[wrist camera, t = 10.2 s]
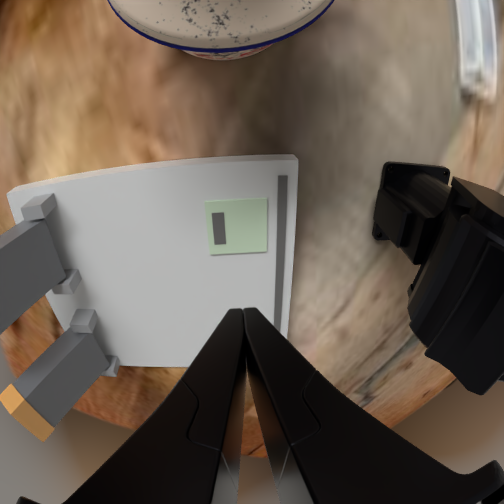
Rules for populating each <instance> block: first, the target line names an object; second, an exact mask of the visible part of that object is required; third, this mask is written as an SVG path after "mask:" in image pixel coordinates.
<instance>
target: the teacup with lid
mask: <svg viewBox="0 0 504 504" xmlns="http://www.w3.org/2000/svg"><path fill="white" fill-rule="evenodd" d="M108 2H109V4H110V6H111V8H112V9H113V11H114V12H115V13H116V15H117V16H118V17H119V18H120V19H121V20H122V21H123V22H124V23H125V24H126V25H127V26H128V27H130V28H131V29H132V30H134V31H135V32H137V33H138V34H140V35H142V36H144V37H145V38H147V39H149V40H152V41H154V42H157V43H159V44H162V45H165V46H168V47H171V48H176V49H180V50H182V51H184V52H186V53H189V54H191V55H194V56H196V57H200V58H204V59H210V60H233V59H240V58H244V57H248V56H251V55H254V54H256V53H259V52H261V51H263V50H265V49H266V48H268V47H269V46H271V45H272V44H274V43H276V42H279V41H281V40H284V39H286V38H288V37H290V36H293V35H294V34H296V33H298V32H300V31H302V30H303V29H305V28H306V27H308V26H309V25H311V24H312V23H313V22H315V21H316V20H317V19H318V18H320V17H321V16H322V15H323V14H324V13H325V12H326V11H327V9H328V8H329V7H330V6H331V4H332V3H333V2H334V0H108Z"/></svg>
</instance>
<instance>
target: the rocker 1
mask: <svg viewBox="0 0 504 504" xmlns="http://www.w3.org/2000/svg"><path fill="white" fill-rule="evenodd" d="M65 277H66V275H65V272H64V270H63V267H62V265H61V262H60V259H59V257H58V254H57V251H56V249H55V246H54V243H53V240H52V237H51V235H50V232H49V229H48V225H47V222H46V219H45V218H41V219H35V220H28V221H24V220H23V221H21V222H20V223H18V224H17V225H15V226H14V227H12V228H11V229H9V230H8V231H6V232H5V233H3V234H2V235H0V334H1V333H2V332H4V331H5V330H6V329H7V328H8V327H9V326H10V325H11V324H12V323H13V322H14V321H15V320H16V319H18V318H19V317H20V316H21V315H22V314H23V313H24V312H25V311H26V310H28V309H29V308H30V307H31V306H32V305H33V304H34V303H36V302H37V301H38V300H39V299H40V298H41V297H43V296H44V295H45V294H46V293H47V292H48V291H50V290H51V289H52V288H53V287H54V286H56V285H57V284H58V283H59V282H60V281H62V280H63V279H64V278H65Z"/></svg>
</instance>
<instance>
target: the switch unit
mask: <svg viewBox="0 0 504 504" xmlns="http://www.w3.org/2000/svg"><path fill="white" fill-rule="evenodd" d="M298 161H299V160H298V159H297V158H296V156H295V155H294V154H271V155H240V156H221V157H206V158H193V159H181V160H171V161H161V162H152V163H143V164H135V165H128V166H121V167H114V168H107V169H101V170H95V171H89V172H83V173H77V174H72V175H67V176H61V177H56V178H52V179H47V180H42V181H38V182H33V183H29V184H25V185H20V186H16V187H15V188H14V189H12V190H11V191H10V192H8V193H7V198H8V201H9V204H10V208H11V211H12V214H13V217H14V220H15V223H16V225H17V224H18V223H20V222H21V221H23V220H24V221H28V220H35V219H41V218H45V219H46V222H47V225H48V229H49V232H50V235H51V237H52V240H53V243H54V246H55V249H56V251H57V254H58V257H59V259H60V262H61V265H62V267H63V270H64V272H65V275H66V277H65V278H64V279H63V280H62V281H60V282H59V283H58V284H57V285H56V286H54V287H53V288H52V289H51V290H50V291H48V292H47V293H46V294H45V295H46V297H47V299H48V301H49V303H50V305H51V307H52V309H53V311H54V313H55V315H56V317H57V319H58V320H59V322H60V324H61V326H62V328H63V329H64V331H66V330H67V329H68V328H69V327H71V328H72V330H73V332H76V333H92V334H93V335H94V337H95V339H96V341H97V343H98V345H99V347H100V349H101V350H102V352H103V354H104V356H105V358H106V359H107V361H108V363H109V364H110V365H109V366H108V367H107V368H106V369H105V371H104V372H103V373H102V374H101V376H112V377H117V373H118V369H119V365H123V366H147V367H189V366H190V364H191V363H192V361H193V360H194V358H195V357H196V356H197V354H198V353H199V351H200V350H201V348H202V347H203V346H204V344H205V343H206V341H207V340H208V338H209V337H210V336H211V334H212V333H213V331H214V330H215V328H216V327H217V325H218V324H219V323H220V321H221V320H222V318H223V317H224V315H225V314H226V312H227V311H228V310H229V309H231V308H242V310H243V308H248V307H256V308H257V309H258V310H259V311H260V312H261V313H262V314H263V315H264V316H265V317H266V318H267V319H268V320H269V321H270V322H271V323H272V324H273V326H274V327H275V328H276V329H277V330H278V331H279V332H280V333H281V334H282V335H283V336H284V337H285V338H286V339H287V332H288V321H289V309H290V297H291V285H292V272H293V258H294V242H295V226H296V207H297V186H298ZM246 365H247V364H246Z"/></svg>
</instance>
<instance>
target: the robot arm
mask: <svg viewBox="0 0 504 504" xmlns="http://www.w3.org/2000/svg"><path fill="white" fill-rule="evenodd" d="M391 166H392V168H391V170H390V171H388V169H389V167H391ZM444 172H445V174H444ZM449 177H450V170H449V169H448V168H446V167H443V166H434V165H424V164H414V163H402V162H386V163H385V164H384V166H383V172H382V179H381V185H380V189H379V190H378V195H377V201H376V207H375V213H374V227H373V232H372V235H373V237H374V238H375V239H376V240H391V241H392V242H393V243H394V245H395V246H396V247H397V248H401V249H402V250H403V252H404V253H405V254H406V255H407V256H408V258H409V259H410V260H411V262H412V263H413V264H414V265H419V264H421V266H420V269H419V271H418V273H417V275H416V277H415V279H414V281H413V284H411V285H410V287H409V289H408V291H407V292H408V296H409V301H408V307H407V308H408V312H409V316H410V319H411V322H410V324H409V325H410V328H411V330H412V331H413V333H414V334H415V336H416V337H417V338H418V339H419V340H420V341H421V343H422V344H423V345H424V346H425V347H427V350H426V351H425V353H424V354H425V356H426V357H428V358H430V359H432V360H435V361H437V362H439V363H440V364H442V365H443V366H444V367H446V368H447V369H448V370H450V371H451V372H452V373H453V374H454V375H455V376H456V378H457V379H458V380H459V381H460V382H461V383H462V384H463V385H464V387H465V388H466V389H467V390H468V391H471V392H473V393H476V394H478V395H484V394H485V393H486V392H487V391H488V390H489V389H490V388H491V387H492V386H493V385H494V384H495V383H496V382H497V381H503V382H504V196H503V195H501V194H499V193H498V192H496V191H494V190H492V189H489V188H486V187H484V186H481V185H478V184H475V183H472V182H469V181H466V180H463V179H460V178H457V177H453V179H452V182H451V185H452V187H449V186H448V182H449ZM379 232H380V234H379V235H377V234H378V233H379ZM246 364H247V367H246ZM247 372H248V378H249V382H250V386H251V390H252V394H253V399H254V403H255V407H256V411H257V415H258V419H259V423H260V427H261V431H262V435H263V439H264V443H265V447H266V451H267V454H268V458H269V462H270V466H271V470H272V473H273V477H274V481H275V485H276V488H277V492H278V496H279V499H280V503H281V504H504V471H503V469H502V467H501V466H500V465H499V463H498V462H497V461H496V460H493V461H491V462H489V463H488V464H486V465H485V466H483V467H481V468H480V469H478V470H476V471H475V472H473V473H470V474H458V473H456V472H454V471H452V470H450V469H449V468H447V467H446V466H444V465H443V464H441V463H440V462H438V461H437V460H435V459H433V458H432V457H430V456H429V455H427V454H426V453H424V452H423V451H421V450H420V449H418V448H417V447H415V446H414V445H413V444H411V443H409V442H408V441H407V440H405V439H404V438H402V437H401V436H400V435H398V434H397V433H395V432H394V431H392V430H391V429H390V428H388V427H387V426H385V425H384V424H383V423H381V422H380V421H378V420H377V419H376V418H374V417H373V416H372V415H370V414H369V413H367V412H366V411H365V410H363V409H362V408H361V407H359V406H358V405H357V404H355V403H354V402H353V401H351V400H350V399H349V398H348V397H346V396H345V395H344V394H343V393H341V392H340V391H339V390H338V389H336V388H335V387H334V386H333V385H332V384H331V383H330V382H329V381H328V380H327V379H326V378H325V377H324V376H323V375H322V374H321V373H320V372H319V371H318V370H316V369H315V368H314V367H313V366H312V365H311V364H310V363H309V362H308V361H307V360H306V359H305V358H304V357H303V356H302V355H301V353H300V352H299V351H298V350H297V349H296V348H295V347H294V346H293V345H292V344H291V343H290V342H289V341H288V340H287V339H286V338H285V337H284V336H283V335H282V334H281V333H280V332H279V331H278V330H277V329H276V328H275V327H274V326H273V324H272V323H271V322H270V321H269V320H268V319H267V318H266V317H265V316H264V315H263V314H262V313H261V312H260V311H259V310H258V309H257V308H256V307H248V308H243V310H242V308H231V309H229V310H228V311H227V312H226V314H225V315H224V317H223V318H222V320H221V321H220V323H219V324H218V325H217V327H216V328H215V330H214V331H213V333H212V334H211V336H210V337H209V338H208V340H207V341H206V343H205V344H204V346H203V347H202V348H201V350H200V351H199V353H198V354H197V356H196V357H195V358H194V360H193V361H192V363H191V364H190V366H189V367H188V368H187V370H186V371H185V373H184V374H183V376H182V377H181V379H180V380H179V381H178V382H177V383H176V385H175V386H174V388H173V389H172V390H171V392H170V393H169V394H168V396H167V397H166V398H165V400H164V401H163V402H162V403H161V404H160V405H159V407H158V408H157V409H156V410H155V411H154V412H153V413H152V414H151V416H150V417H149V418H148V419H147V420H146V421H145V422H144V423H143V424H142V425H141V426H140V427H139V428H138V429H137V430H136V431H135V432H134V433H133V434H132V435H131V437H129V438H128V440H126V442H125V443H124V444H123V445H122V446H121V447H120V448H119V449H118V450H117V451H116V452H115V453H114V454H113V455H112V456H111V457H110V458H109V459H108V460H107V461H106V462H105V463H104V464H103V465H102V466H101V467H100V468H99V469H98V470H97V471H96V472H95V473H94V474H93V475H92V476H91V477H90V478H89V479H88V480H87V481H86V482H85V483H84V484H83V485H81V486H80V487H79V488H78V489H77V490H76V491H75V492H74V493H73V494H72V495H71V496H70V497H69V498H68V499H67V500H66V501H65V502H63V503H62V504H237V495H238V494H237V492H238V482H239V469H240V456H241V443H242V430H243V417H244V404H245V391H246V376H247ZM16 504H40V503H37V502H35V501H32V500H30V499H28V498H25V497H23V496H21V497H19V499H18V501H17V503H16Z"/></svg>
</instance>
